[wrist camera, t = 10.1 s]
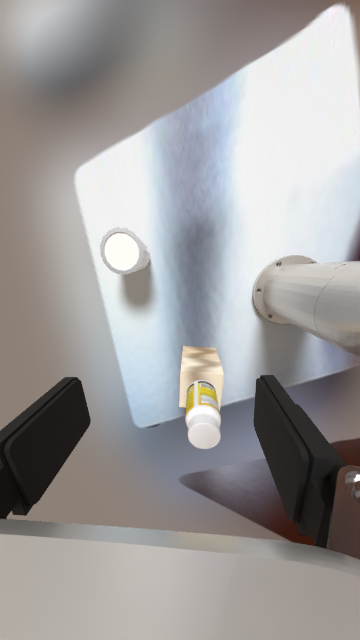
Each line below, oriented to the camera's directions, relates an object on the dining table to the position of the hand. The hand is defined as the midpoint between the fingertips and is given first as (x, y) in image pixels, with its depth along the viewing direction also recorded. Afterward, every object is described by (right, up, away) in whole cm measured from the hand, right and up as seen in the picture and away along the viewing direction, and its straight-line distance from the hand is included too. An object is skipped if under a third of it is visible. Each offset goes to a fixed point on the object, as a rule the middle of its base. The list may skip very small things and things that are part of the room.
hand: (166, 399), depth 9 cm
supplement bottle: (+4, -8, +20) cm, 22 cm away
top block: (+5, -6, +25) cm, 26 cm away
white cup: (-8, +17, +25) cm, 31 cm away
